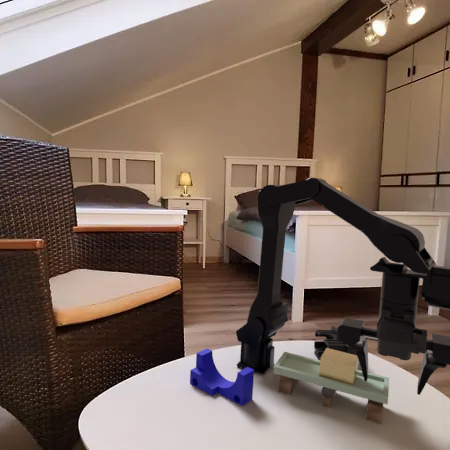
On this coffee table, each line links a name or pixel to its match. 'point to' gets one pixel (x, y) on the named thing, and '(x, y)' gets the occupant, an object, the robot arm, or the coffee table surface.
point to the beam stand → (331, 398)
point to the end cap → (330, 342)
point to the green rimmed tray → (309, 372)
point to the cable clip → (221, 380)
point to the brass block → (339, 366)
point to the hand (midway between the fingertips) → (391, 386)
